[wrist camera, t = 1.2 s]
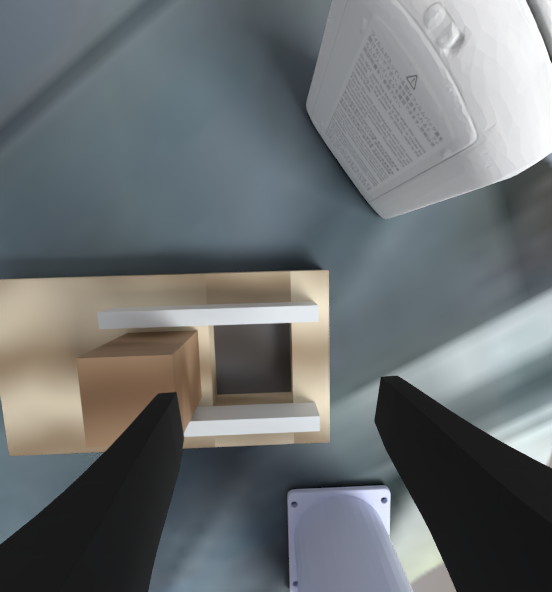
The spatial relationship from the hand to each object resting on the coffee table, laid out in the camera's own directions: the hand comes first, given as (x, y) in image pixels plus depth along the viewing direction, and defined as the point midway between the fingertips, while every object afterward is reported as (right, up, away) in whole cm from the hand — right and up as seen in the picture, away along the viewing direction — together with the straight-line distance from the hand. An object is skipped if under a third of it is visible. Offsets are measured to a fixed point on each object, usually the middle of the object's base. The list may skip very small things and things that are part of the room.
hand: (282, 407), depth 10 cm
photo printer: (+6, +14, +10) cm, 18 cm away
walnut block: (-8, -1, +9) cm, 12 cm away
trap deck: (-8, 0, +11) cm, 13 cm away
